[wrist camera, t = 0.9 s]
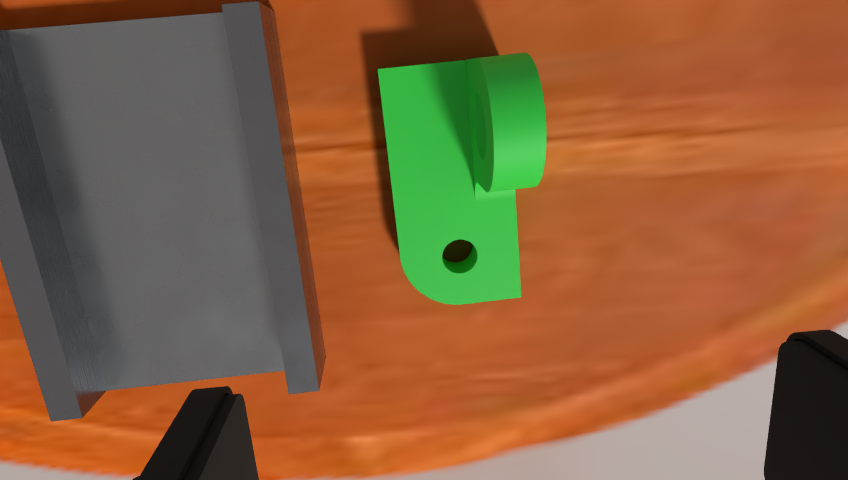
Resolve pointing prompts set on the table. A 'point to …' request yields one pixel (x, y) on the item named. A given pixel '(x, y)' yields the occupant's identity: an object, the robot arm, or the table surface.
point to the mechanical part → (463, 169)
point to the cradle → (154, 205)
